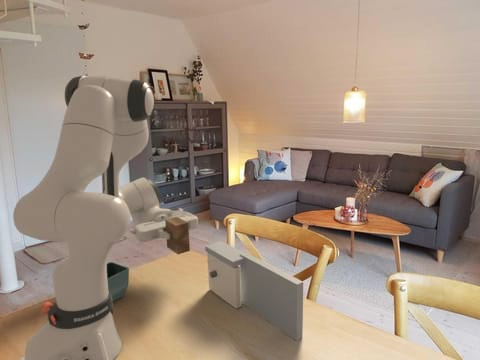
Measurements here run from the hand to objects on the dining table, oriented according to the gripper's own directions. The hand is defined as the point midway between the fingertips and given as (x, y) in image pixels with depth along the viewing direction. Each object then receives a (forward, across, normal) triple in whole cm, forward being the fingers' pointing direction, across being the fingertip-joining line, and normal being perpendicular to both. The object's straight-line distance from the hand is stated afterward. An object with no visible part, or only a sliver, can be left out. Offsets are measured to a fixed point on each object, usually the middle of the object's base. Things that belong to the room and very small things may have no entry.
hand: (178, 234), depth 112 cm
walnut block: (-1, 0, +5) cm, 5 cm away
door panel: (+13, +6, +17) cm, 23 cm away
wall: (+23, +8, +18) cm, 30 cm away
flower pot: (-9, -19, +18) cm, 28 cm away
